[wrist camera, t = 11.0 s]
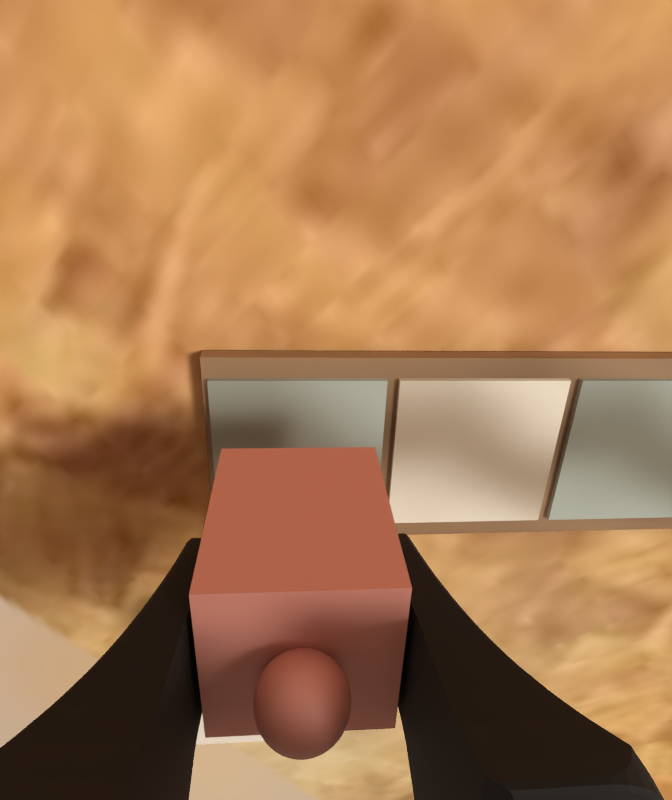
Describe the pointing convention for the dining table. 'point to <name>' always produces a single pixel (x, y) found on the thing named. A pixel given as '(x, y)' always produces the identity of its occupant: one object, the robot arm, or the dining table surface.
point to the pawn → (299, 598)
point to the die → (231, 739)
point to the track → (466, 430)
